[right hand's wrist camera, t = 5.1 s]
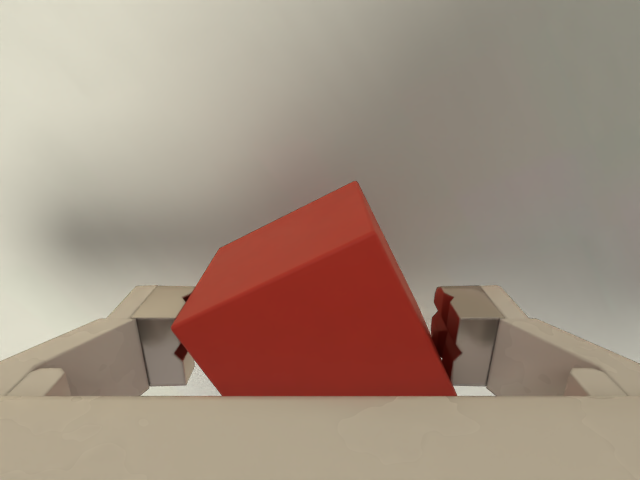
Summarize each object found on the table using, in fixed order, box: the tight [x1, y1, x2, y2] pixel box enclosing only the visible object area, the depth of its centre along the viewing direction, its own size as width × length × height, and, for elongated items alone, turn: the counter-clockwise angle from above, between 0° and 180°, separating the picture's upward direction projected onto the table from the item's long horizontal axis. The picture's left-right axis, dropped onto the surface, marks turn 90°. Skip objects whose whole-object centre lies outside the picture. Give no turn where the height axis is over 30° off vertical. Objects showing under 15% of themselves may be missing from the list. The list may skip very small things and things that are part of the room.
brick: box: [171, 181, 457, 396], centre depth 10 cm, size 5×4×4 cm
